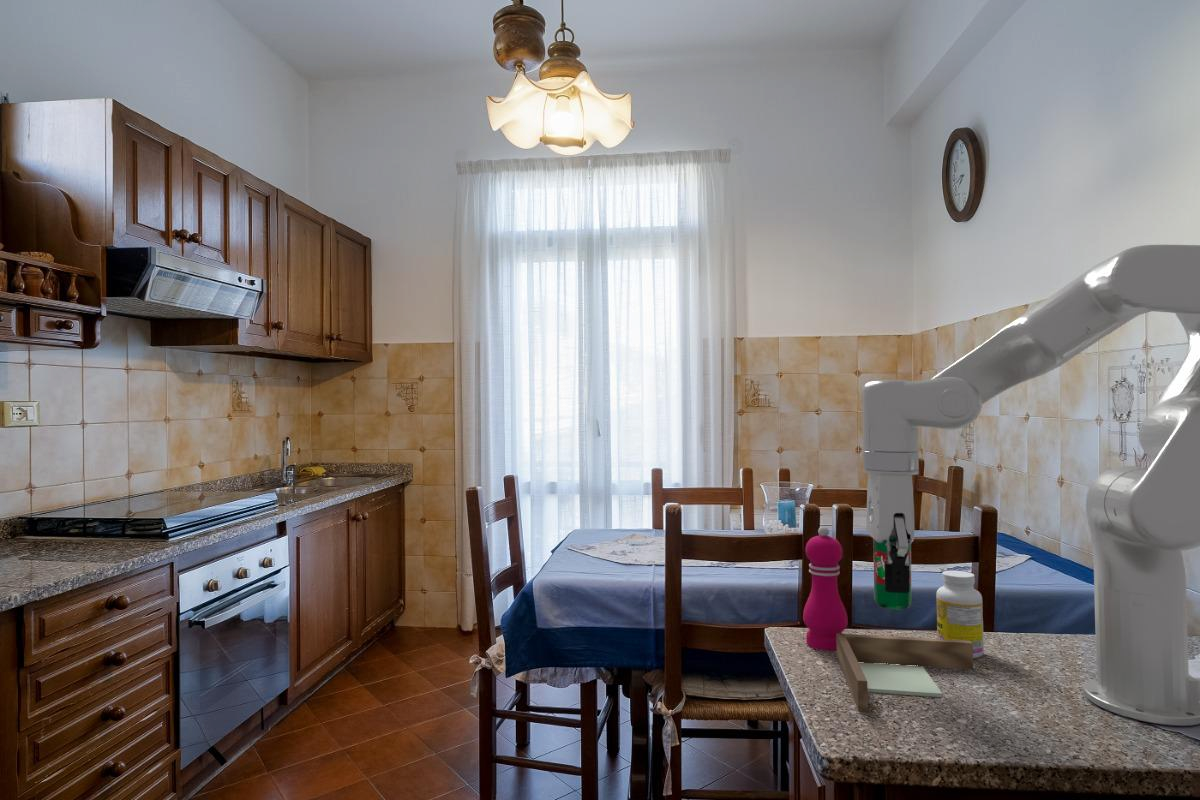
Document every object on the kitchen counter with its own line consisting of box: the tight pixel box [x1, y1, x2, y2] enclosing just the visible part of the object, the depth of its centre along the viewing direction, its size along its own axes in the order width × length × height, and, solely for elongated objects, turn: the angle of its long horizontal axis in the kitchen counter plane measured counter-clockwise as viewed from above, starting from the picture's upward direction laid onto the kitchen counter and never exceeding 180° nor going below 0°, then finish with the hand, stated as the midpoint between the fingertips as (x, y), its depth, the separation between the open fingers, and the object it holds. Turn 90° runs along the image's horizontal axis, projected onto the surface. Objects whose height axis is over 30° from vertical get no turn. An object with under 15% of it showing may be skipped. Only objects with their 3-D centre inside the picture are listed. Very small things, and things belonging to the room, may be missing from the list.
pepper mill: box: [802, 526, 849, 652], centre depth 112 cm, size 7×7×20 cm
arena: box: [836, 633, 974, 713], centre depth 94 cm, size 20×19×4 cm
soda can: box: [872, 530, 913, 611], centre depth 97 cm, size 5×5×12 cm
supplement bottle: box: [935, 570, 985, 659], centre depth 108 cm, size 7×7×13 cm
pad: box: [859, 663, 944, 698], centre depth 96 cm, size 10×10×1 cm
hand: (892, 585), depth 97 cm, fingers closed on soda can, 5 cm apart
